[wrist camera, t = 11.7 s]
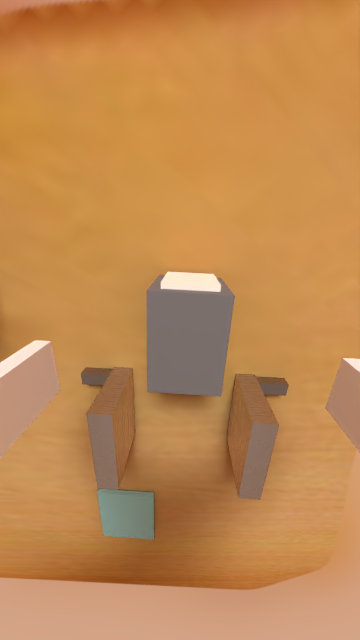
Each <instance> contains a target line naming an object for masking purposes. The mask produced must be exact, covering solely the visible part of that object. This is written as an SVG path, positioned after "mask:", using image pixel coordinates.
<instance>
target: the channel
mask: <svg viewBox="0 0 360 640" xmlns="http://www.w3.org/2000/svg"><path fill="white" fill-rule="evenodd" d="M81 377H82V384H88V385H103V387H102V388H101V390H100V392H99V394H98V395H97V397H96V399H95V400H94V402H93V404H92V405H91V407H90V409H89V411H88V412H87V419H88V426H89V433H90V440H91V447H92V453H93V460H94V467H95V474H96V481H97V488H102V489H116V490H119V487H120V483H121V480H122V476H123V473H124V469H125V466H126V462H127V458H128V455H129V451H130V448H131V444H132V441H133V437H134V434H135V415H134V394H133V373H132V368H116V367H114V368H113V369H102V368H85V369H84V370H83V372H82V373H81ZM287 389H288V383H287V382H286V380H285V379H284V378H269V377H256V376H255V375H247V374H236V377H235V384H234V391H233V398H232V404H231V411H230V418H229V425H228V432H227V440H228V446H229V451H230V456H231V462H232V467H233V472H234V478H235V483H236V488H237V494H238V498H248V499H260V498H261V494H262V490H263V486H264V482H265V478H266V474H267V470H268V466H269V462H270V458H271V454H272V450H273V446H274V442H275V438H276V434H277V430H278V426H279V424H278V422H277V420H276V418H275V416H274V414H273V412H272V410H271V408H270V405H269V403H268V401H267V399H266V397H265V395H264V394H267V395H285V396H286V393H287Z"/></svg>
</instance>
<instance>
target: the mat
mask: <svg viewBox="0 0 360 640" xmlns="http://www.w3.org/2000/svg"><path fill="white" fill-rule="evenodd" d="M97 495H98V501H99V508H100V515H101V522H102V529H103V535H104V536H112V537H125V538H139V539H152V540H154V492H140V491H125V490H111V489H99V490H98V492H97Z"/></svg>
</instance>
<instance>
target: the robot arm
mask: <svg viewBox="0 0 360 640" xmlns="http://www.w3.org/2000/svg"><path fill="white" fill-rule="evenodd" d="M59 391H60V386H59V381H58V376H57V370H56V365H55V360H54V355H53V350H52V344H51V341H38V340H35V341H33V342H31V343H30V344H28V345H27V346H25V347H24V348H22V349H21V350H19V351H18V352H16V353H14V354H13V355H11V356H10V357H8V358H7V359H5V360H4V361H2V362H1V363H0V459H1V458H2V456H3V455H4V454H5V453H6V452H7V451H8V450H9V448H10V447H11V446H12V445H13V444H14V443H15V442H16V440H17V439H18V438H19V437H20V436H21V435H22V434H23V432H24V431H25V430H26V429H27V428H28V427H29V426H30V424H31V423H32V422H33V421H34V420H35V419H36V418H37V416H38V415H39V414H40V413H41V412H42V411H43V409H44V408H45V407H46V406H47V405H48V404H49V403H50V401H51V400H52V399H53V398H54V397H55V396H56V395H57V393H58V392H59ZM326 409H327V411H328V412H329V413H330V414H331V416H332V417H333V418H334V420H335V421H336V422H337V423H338V425H339V426H340V427H341V429H342V430H343V431H344V432H345V434H346V435H347V436H348V438H349V439H350V440H351V441H352V443H353V444H354V445H355V447H356V448H357V449H358V450H359V452H360V359H349V358H342V361H341V363H340V366H339V369H338V372H337V375H336V378H335V381H334V384H333V387H332V390H331V393H330V396H329V399H328V402H327V405H326Z"/></svg>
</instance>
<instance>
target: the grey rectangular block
mask: <svg viewBox="0 0 360 640" xmlns="http://www.w3.org/2000/svg"><path fill="white" fill-rule="evenodd" d="M234 297H235V296H234V294H233V293H232V292H231V290H230V289H229V288H228V287H227V285H226V284H225V283H224V282H223V280H222V279H221V278H216V277H215V275H214V274H203V273H183V272H167V273H166V275H159V277H158V278H157V279H156V280H155V282H154V283H153V284H152V285H151V286H150V288H149V289H148V290H147V385H148V392H158V393H174V394H189V395H205V396H220V397H221V393H222V386H223V378H224V371H225V363H226V356H227V349H228V341H229V334H230V326H231V319H232V311H233V304H234Z"/></svg>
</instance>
